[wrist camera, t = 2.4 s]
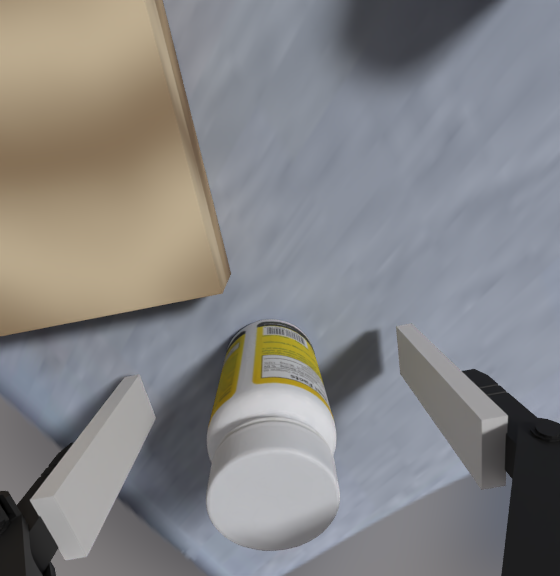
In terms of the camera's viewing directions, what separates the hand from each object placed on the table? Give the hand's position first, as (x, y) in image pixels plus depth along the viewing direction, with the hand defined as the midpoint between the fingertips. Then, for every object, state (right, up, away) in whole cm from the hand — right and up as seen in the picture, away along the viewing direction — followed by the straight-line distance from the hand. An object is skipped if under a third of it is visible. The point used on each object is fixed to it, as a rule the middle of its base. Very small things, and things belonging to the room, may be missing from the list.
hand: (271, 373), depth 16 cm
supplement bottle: (0, +1, +1) cm, 2 cm away
